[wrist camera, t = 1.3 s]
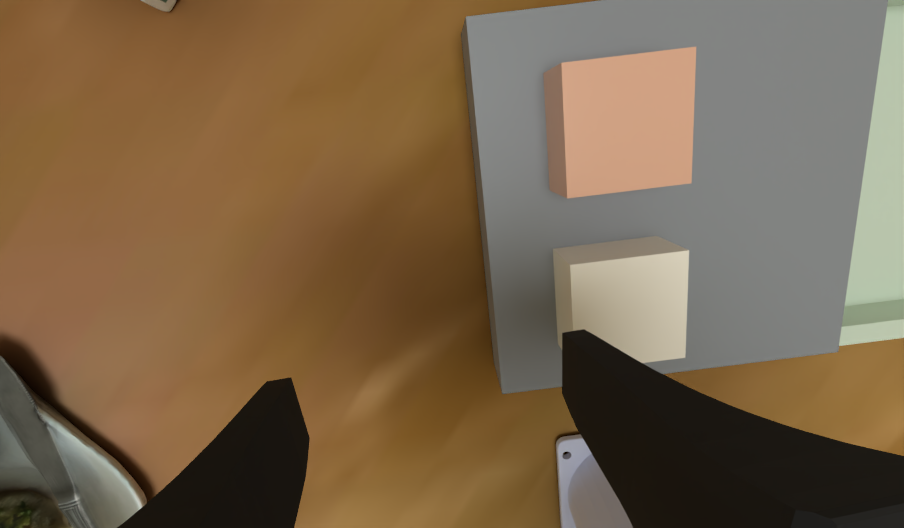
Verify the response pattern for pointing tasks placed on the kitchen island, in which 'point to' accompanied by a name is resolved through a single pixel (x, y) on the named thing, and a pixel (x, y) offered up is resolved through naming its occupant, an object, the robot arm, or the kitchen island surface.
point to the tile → (625, 295)
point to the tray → (881, 205)
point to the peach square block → (620, 122)
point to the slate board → (713, 171)
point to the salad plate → (55, 467)
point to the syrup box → (161, 4)
